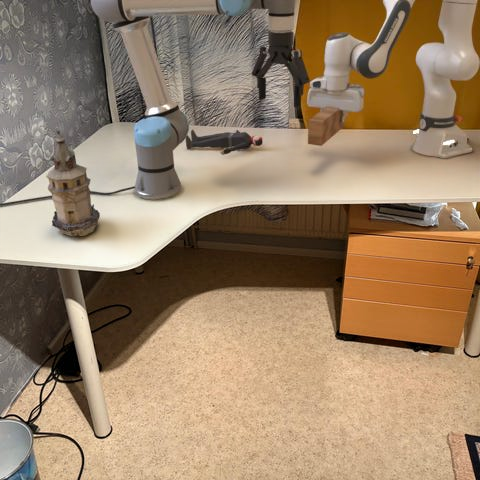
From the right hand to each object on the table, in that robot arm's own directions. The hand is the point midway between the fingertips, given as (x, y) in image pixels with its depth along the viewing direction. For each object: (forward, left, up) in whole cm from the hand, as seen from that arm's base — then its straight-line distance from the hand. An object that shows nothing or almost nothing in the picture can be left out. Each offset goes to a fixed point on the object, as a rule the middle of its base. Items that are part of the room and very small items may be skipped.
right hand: (333, 121), depth 195 cm
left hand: (+27, +16, +13) cm, 34 cm away
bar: (+5, +5, -3) cm, 8 cm away
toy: (+34, -25, -15) cm, 45 cm away
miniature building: (+94, +27, -15) cm, 99 cm away
